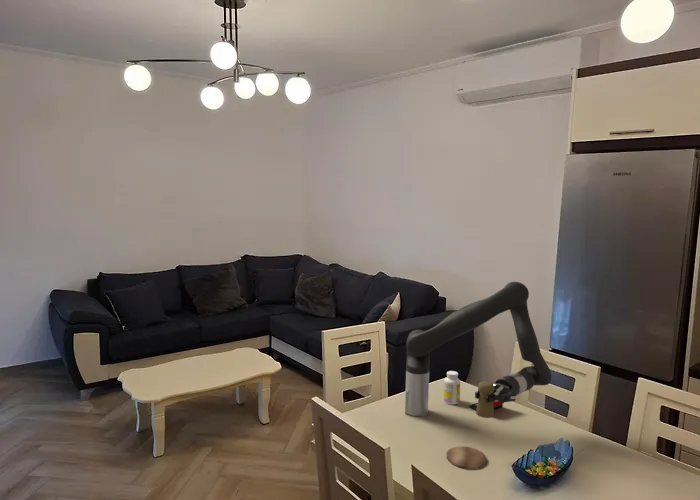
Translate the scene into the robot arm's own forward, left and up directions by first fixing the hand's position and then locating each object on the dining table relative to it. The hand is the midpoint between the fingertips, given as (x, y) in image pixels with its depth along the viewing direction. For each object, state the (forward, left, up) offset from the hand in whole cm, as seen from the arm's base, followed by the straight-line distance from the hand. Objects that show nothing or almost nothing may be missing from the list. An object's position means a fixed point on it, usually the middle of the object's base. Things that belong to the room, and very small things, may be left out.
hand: (481, 397), depth 165 cm
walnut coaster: (-5, -3, -20) cm, 21 cm away
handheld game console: (+9, +38, -21) cm, 45 cm away
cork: (+2, +2, -7) cm, 7 cm away
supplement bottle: (-6, +43, -20) cm, 48 cm away
